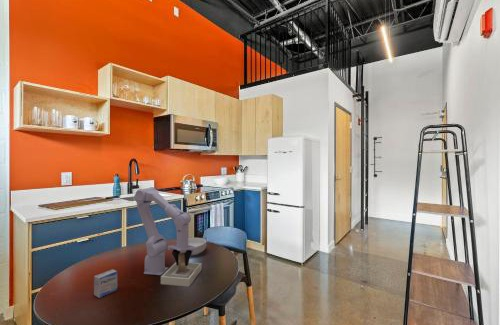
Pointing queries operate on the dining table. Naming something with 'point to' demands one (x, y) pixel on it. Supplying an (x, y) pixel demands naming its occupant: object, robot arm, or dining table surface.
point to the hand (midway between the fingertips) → (182, 264)
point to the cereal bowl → (197, 245)
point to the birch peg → (181, 262)
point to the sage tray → (181, 275)
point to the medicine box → (105, 283)
